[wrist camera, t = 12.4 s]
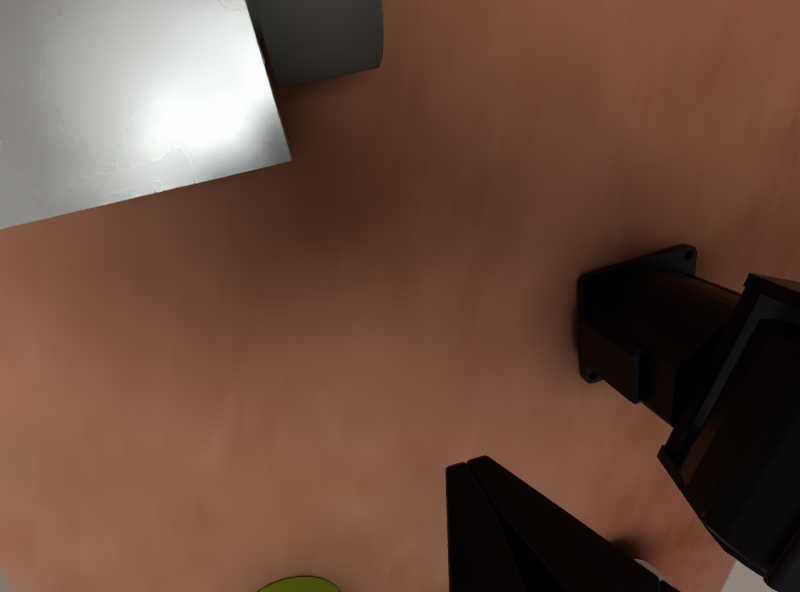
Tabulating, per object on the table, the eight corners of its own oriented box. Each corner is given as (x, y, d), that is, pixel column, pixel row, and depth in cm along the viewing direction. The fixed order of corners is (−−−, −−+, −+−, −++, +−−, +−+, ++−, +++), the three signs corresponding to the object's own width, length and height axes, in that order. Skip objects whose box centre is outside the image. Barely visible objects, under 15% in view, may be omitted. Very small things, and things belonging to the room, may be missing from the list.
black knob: (332, -86, 13) (352, -173, 9) (365, 74, 15) (393, 59, 11) (-109, -16, 12) (-314, -86, 8) (-11, 153, 13) (-137, 169, 9)
